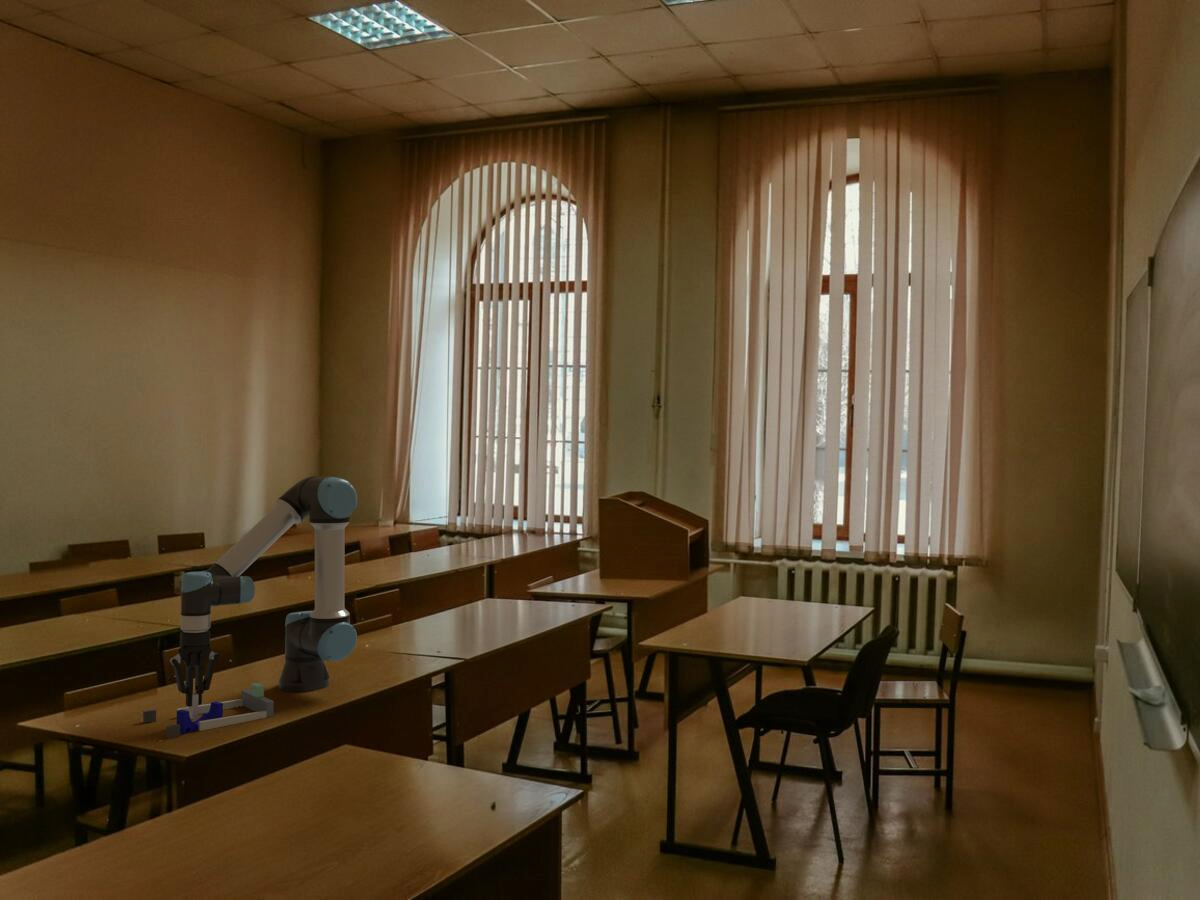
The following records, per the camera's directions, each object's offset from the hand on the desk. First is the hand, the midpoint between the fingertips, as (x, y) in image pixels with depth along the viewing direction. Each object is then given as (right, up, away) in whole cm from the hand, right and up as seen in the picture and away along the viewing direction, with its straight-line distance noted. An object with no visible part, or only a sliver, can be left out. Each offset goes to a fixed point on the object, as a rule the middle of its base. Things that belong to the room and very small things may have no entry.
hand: (193, 717), depth 275 cm
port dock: (+6, -2, +5) cm, 8 cm away
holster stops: (-6, -2, -6) cm, 8 cm away
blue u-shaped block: (+3, -2, -4) cm, 5 cm away
